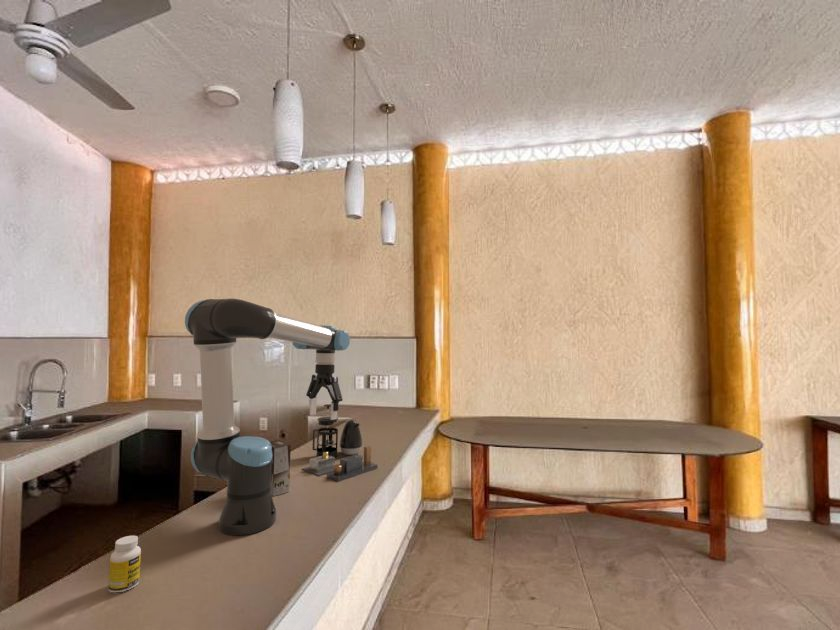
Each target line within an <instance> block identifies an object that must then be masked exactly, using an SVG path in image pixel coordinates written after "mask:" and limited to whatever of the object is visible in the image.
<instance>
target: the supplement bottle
mask: <svg viewBox="0 0 840 630" xmlns="http://www.w3.org/2000/svg"><path fill="white" fill-rule="evenodd" d="M138 542H139V537H138V535H127V536H123V537H120V538H119V539H117V540H115V543H114V545H115V546H114V551H113V552H112V553H111V555H110V558H109V559H110V560H109V572H108V584H107V585H108V589H107V590H108V592H109V591H111V592H121V591H126V590H129V589H131V588H133V587H134V588H136V587H137V586H136V585H139V583H140V575H141V574H140V572H141V557H142V549H141V547H140V546H139V545H138ZM134 588H133V589H134ZM131 590H132V589H131ZM129 591H130V590H129ZM111 592H110V593H111ZM126 592H127V591H126Z"/></svg>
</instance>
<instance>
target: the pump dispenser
mask: <svg viewBox="0 0 840 630" xmlns="http://www.w3.org/2000/svg"><path fill="white" fill-rule="evenodd" d="M360 426H361V423H359V422H357V421H356V420H354V419H349V420H347V422H346V423H345V424H344V426H343V428H342V432H341V435H340V439H339V448H340V451H341V453H343V454H344V455H347V456H352V455H358V454H359V453H360V451H361V450H362V446H363V438H362V432H361V429H360Z"/></svg>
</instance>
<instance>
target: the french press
mask: <svg viewBox="0 0 840 630" xmlns="http://www.w3.org/2000/svg"><path fill="white" fill-rule="evenodd" d="M323 407H326V409H327V411H329V410H330V408H331V403H330V404H324V405H323ZM330 419H331V416H321V417H318V418H317V422H318V423H317V424H318V425H320V426H325V427H321V428H317V429H316V428H315V429H313V430H312V451H316V455H315V457H319V456H323V452H328V455H329V456H332V457H335V460H336V459H338V457H339V455H338V442H339V441H338V438H339V437H338V436H339V435H338V433H339V429H338V428H336V427H331V426H332V425H334V424H335V423H336V422H337V421H338V420H339V418H338V417H337V419H334V420H330ZM333 435H335V440H333ZM320 436H321V440H320ZM315 440H316V443H315ZM315 444H316V448H315Z"/></svg>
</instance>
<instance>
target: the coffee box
mask: <svg viewBox="0 0 840 630" xmlns="http://www.w3.org/2000/svg"><path fill="white" fill-rule="evenodd" d="M269 442H270V444H271V447H272V469H271V491H270V492H271V496H272V497H276V496H279V495H283V494H286V493H289V492H290V486H291V454H292V453H291V449H292V448H291V444H290V443H287V442H285V441H282V440H278V439H277V440H271V441H269Z"/></svg>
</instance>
